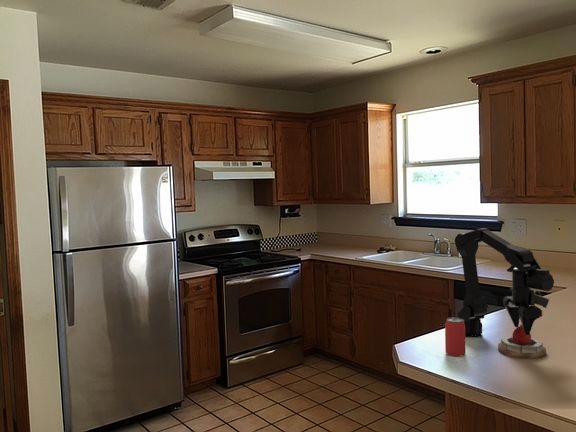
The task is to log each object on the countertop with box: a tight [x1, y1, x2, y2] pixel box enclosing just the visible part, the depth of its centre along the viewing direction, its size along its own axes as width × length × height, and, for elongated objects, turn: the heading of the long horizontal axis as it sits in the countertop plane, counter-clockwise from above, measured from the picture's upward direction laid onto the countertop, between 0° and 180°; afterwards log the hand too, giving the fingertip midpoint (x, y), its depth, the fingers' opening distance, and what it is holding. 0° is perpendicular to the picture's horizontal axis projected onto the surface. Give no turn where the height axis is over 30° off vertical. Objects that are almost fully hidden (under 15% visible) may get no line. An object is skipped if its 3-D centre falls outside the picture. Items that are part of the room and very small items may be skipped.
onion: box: [511, 323, 532, 346], centre depth 169 cm, size 6×6×8 cm
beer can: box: [444, 317, 467, 358], centre depth 168 cm, size 7×7×12 cm
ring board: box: [497, 335, 547, 360], centre depth 169 cm, size 15×15×4 cm
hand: (521, 330), depth 169 cm, fingers open, 9 cm apart
